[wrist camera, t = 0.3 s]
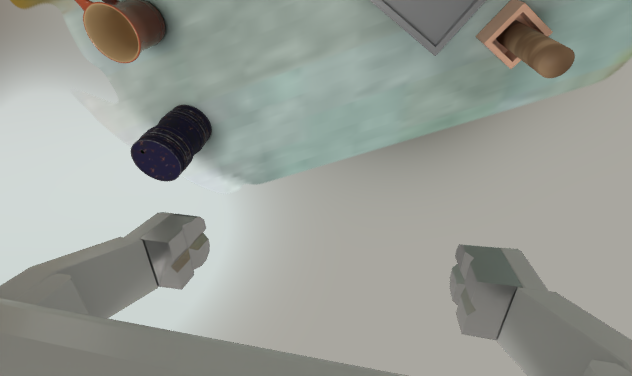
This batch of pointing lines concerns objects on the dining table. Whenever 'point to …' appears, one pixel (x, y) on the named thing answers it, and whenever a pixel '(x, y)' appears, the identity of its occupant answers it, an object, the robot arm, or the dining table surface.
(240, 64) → the dining table surface
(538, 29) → the pot
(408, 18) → the tray
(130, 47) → the mug
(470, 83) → the dining table surface
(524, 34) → the dowel
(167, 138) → the storage jar
